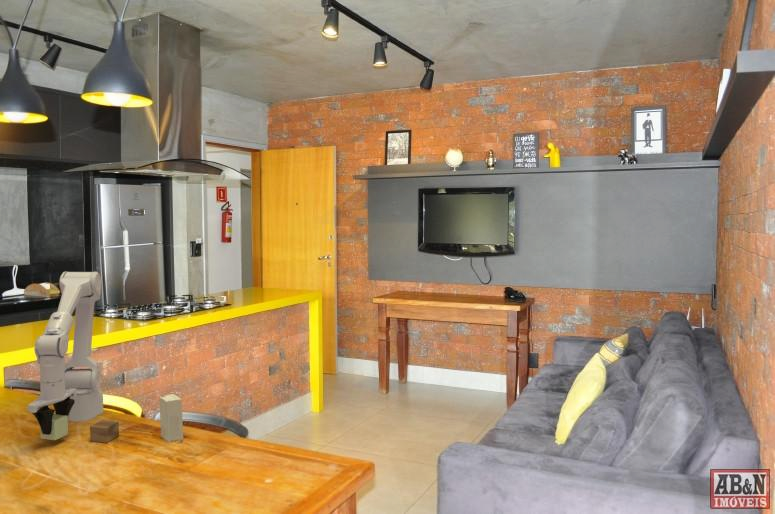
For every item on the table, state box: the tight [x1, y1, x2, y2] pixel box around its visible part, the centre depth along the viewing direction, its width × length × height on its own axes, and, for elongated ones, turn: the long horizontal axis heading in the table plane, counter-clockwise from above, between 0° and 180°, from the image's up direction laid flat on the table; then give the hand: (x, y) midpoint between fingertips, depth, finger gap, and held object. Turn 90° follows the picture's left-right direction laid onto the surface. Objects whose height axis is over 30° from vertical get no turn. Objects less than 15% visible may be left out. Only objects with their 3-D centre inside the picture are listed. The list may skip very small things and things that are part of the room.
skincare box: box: [158, 393, 184, 445], centre depth 165 cm, size 6×4×12 cm
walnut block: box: [89, 419, 120, 444], centre depth 164 cm, size 5×5×4 cm
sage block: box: [39, 413, 69, 441], centre depth 161 cm, size 4×4×5 cm
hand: (54, 430), depth 161 cm, fingers closed on sage block, 4 cm apart
